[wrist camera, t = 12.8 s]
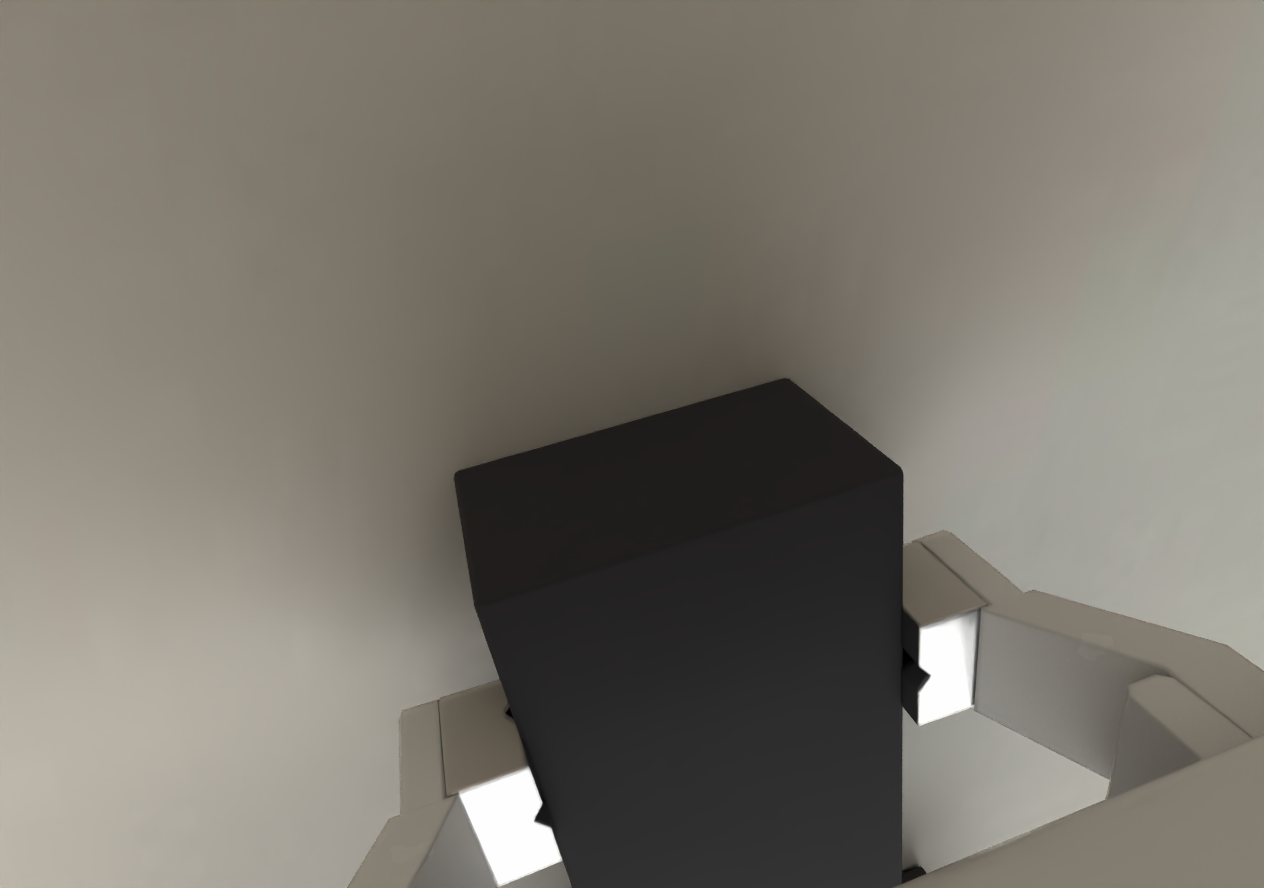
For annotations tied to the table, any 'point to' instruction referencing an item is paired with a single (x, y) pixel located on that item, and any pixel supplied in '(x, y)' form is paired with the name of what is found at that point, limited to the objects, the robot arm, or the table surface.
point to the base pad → (912, 874)
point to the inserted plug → (703, 642)
